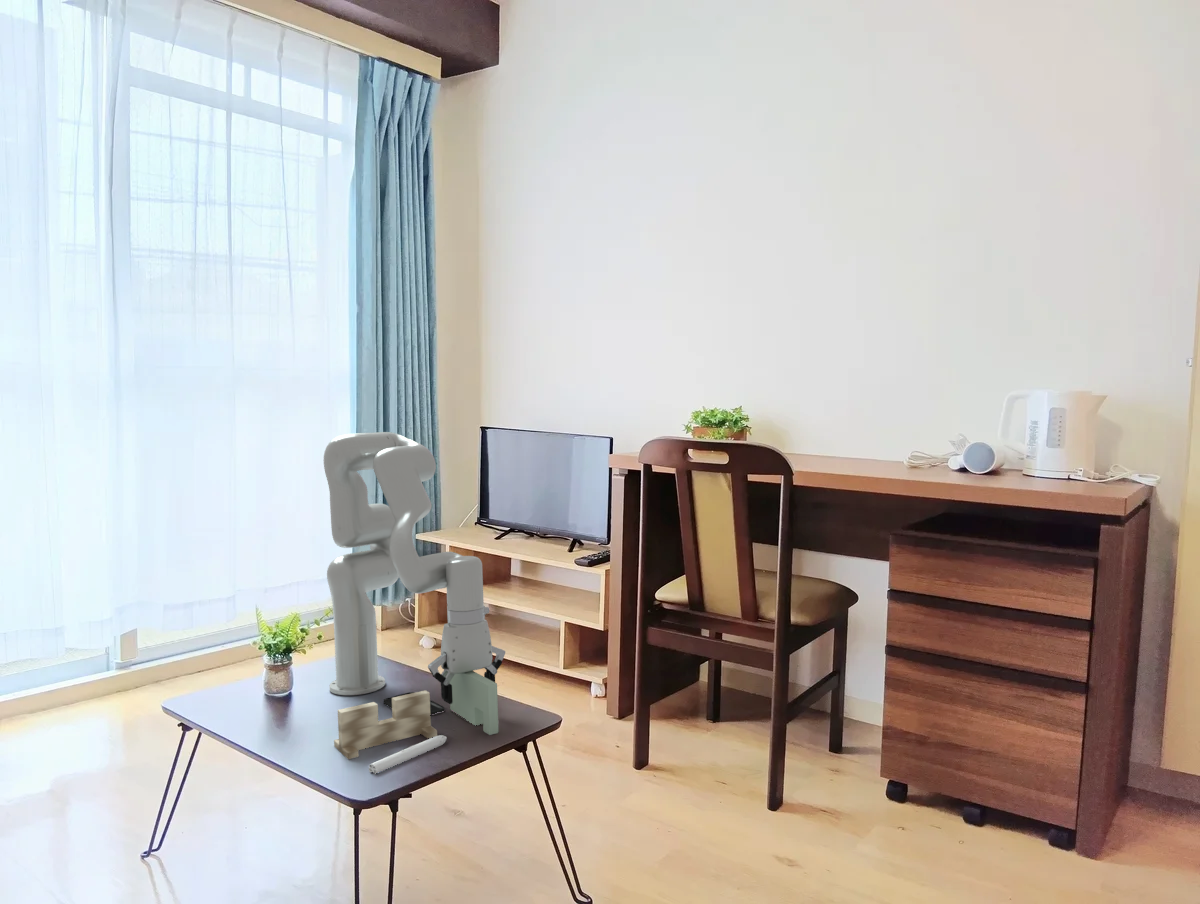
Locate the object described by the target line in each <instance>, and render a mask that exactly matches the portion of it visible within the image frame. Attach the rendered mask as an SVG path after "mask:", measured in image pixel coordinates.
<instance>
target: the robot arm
mask: <svg viewBox="0 0 1200 904" xmlns="http://www.w3.org/2000/svg"><path fill="white" fill-rule="evenodd" d="M436 467H437V465H436V460H435V456H434V455H433V453H432V451H430V449H429V448H428V447H426V446H425V445H423V444H421V443H419V442H418V441H415V440H413V439H410V438H408V437H405V436H403V435H401V434H399V433H396V432H392V431H391V432H389V431H382V432H378V431H376V432H359V433H358V432H357V433H347V434H342V435H338V436H336V437H334V438H333V439H332V440H330V441H329V442H328V444H327V445H326V447H325V450H324V454H323V469H324V474H325V478H326V480H327V486H328V491H329V506H330V509H329V511H330V525H331V527H330V528H331V535H332V538H333V542H334V543H335V544H336V546H338V547H339V548H343V549H350V548H351V549H352V548H358V547H365V546H369V548H370V549H369V550H364V551H363V550H362V551H357V552H351V553H346V554H343V555H340V556H338V557H336V558H334V559H333V560H332V561H331V562H330V563H329V565H328V567H327V570H326V580H327V584H328V588H329V591H330V597H331V604H332V615H333V634H334V635H333V636H334V637H333V638H334V657H335V659H334V661H335V679H334V680H333V681H331V683H330V684H329V692H331V693H332V694H334V695H339V696H359V695H365V694H366V695H367V694H371V693H373V692H377V691H378V690H381V689H382V688H383V687H384V686H385V685H386V678H385V677H383V676H382V675H379V669H378V668H379V667H378V661H379V659H378V642H377V637H378V636H377V615H376V609H375V606H374V604H373V602H372V601H371V600H370V598H369V597H368V594H367V593H370V592H372V591H375V590H379V589H384V588H389V587H391V586H393V585H394V584H395V583H396V582H397V581H398V579H400V582H401V583H402V584H403V586H404V587H405V589H406V590H408V592H410V593H413V594H419V595H420V594H424V593H429V592H432V591H436V590H437V591H438V590H443V589H446V609H447V610H446V611H447V623H444V624H443V629H442V635H441V644H440V646H441V647H440V655H439V656H438V657H436V659H433V660H432V661H431V662H430V663H429V664H428V665H427V668H428V670H429V672H430V673H431V675H432V677H433V678H434V679H435V680H437V681H438V682H439V683H440V694H441V699H442V701H443V702H445V703H446V704H448V705H450V704H452V702H453V700H452V685H451V684H450V681H451V680H452V678H453V676H454V675H455V674H460V673H464V672H469V671H474V672H475V671H479V670H481V669H484V670H486V671H484V673H483V677H485V678H487V679H489V680H491V681H493V682H495V683H496V675H497V674H498V670H499V668H500V667H501V666H502V664H503V660H504V658H505V655H506V650H504V649H502V648H499V647H496V646H493V645H492V638H491V632H490V628H489V624H488V620H487V619H486V615H487V614H489V613H490V607H489V606H485V604H484V581H483V580H484V577H483V576H484V575H483V573H484V572H483V562H482V560H481V559H480V558H479V557H478V556H475V555H474V556H473V555H462V554H460V553H457V552H454V551H443V552H438V553H432V554H426V555H422V556H419V554H418V551H417V550H416V547H415V545H414V541H413V529H414V526H415V524H417V523H418V522H419V521H421V520H422V519H424V518H425V517H426V516H427V515H428V514H429V513H430V512H431V510H432V505H433V504H432V501H431V499H430V498H429V495H428V493H427V491H426V489H425V487H424V484H423V482H427V481H429V480H431V479H432V478H433V477H434V475H435V474H436V470H437V469H436ZM366 470H367V471H368V470H373V472H374V475H375V477H376V479H377V481H378V483H379V486H380V489H381V490H382V494H383V496H384V498H385V500H386V502H387V504H385V503H370V504H369V498H368V497H369V496H368V493H369V491H368V487H367V485H366V482H365V480H364V479H363V477H362V476H361V474H360V473H359V471H366ZM493 654H495V658H494V659H493ZM439 667H441V668H442V672H441V673H440V671H439V670H438V669H439Z"/></svg>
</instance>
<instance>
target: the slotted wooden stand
mask: <svg viewBox="0 0 1200 904" xmlns="http://www.w3.org/2000/svg"><path fill="white" fill-rule="evenodd" d="M430 695H431V693H430V692H429V691H427V690H421V691H415V693H411V694H407V695H402V696H398V697H393V696H392V697H393V698H392V708H391V711H392V712H391V715H392V716H391V717H390V718H386V719H382V720H379V704H378V703H377V702H375V701H372V702H367V703H362V704H359V705H353V706H349V707H345V708H339V709H337V724H338V725H337V726H338V727H337V728H338V730H337V731H338V738H337V739H334V740H333V746H334V748H336V749H337V750H338V751H339V752H340V753H341V754H342V756H344V757H345V758H346V759H347V760H351V759H355V758H359V751H362V750H365V748H366V749H369V747H370V748H372V747H373V746H374V747H377V746H380V745H385V744H388V742H389V743H393V742H397V741H401V740H404V739H408V738H412V737H416V736H420V734H421V735H422V736H424V737H425V738H427V739H428V738H429V739H430V738H432V737H435V736H438V729H436V728H434V727H433V726H432V719H431V717H432V716H430V715H431V714H430V700H431V696H430ZM396 740H397V741H396ZM392 741H393V742H392ZM384 743H385V744H384Z"/></svg>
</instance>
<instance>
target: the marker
mask: <svg viewBox="0 0 1200 904" xmlns="http://www.w3.org/2000/svg"><path fill="white" fill-rule="evenodd" d="M447 738H448V737H447V736H446V735H443V734H441V735H440V734H439V735H438V734H437V736H435V737H433V738H429V739H428V738H427V739H426V740H423V741H422V742H421V741H420V742H419V743H416V744H413V745H410V746H409V747H407V748H405V749H404V748H403V749H401V750H400V751H398V752H395V753H393V754H390V755H388V756H385V757H384V758H381V759H379V760H377V761H376V760H375V762H372V763H370V764H369V765H368V771H369V773H370V772H373V774H374V773H375V774H374V775H377V774H376V773H378V772H380V771H382V772H384V771H386V770H385V769H387V770H389V769H391V768H393V766H394V767H396V766H398V765H401V764H402V762H403V763H405V762H407V761H409V760H412V759H414V758H416V757H418V755H419V756H420V755H421V756H422V755H423V754H425V753H428V752H429V751H433V750H434V748H435V749H437V748H439V747H441V746H443V745H444V744H445V743H446V741H447ZM427 751H428V752H427ZM411 758H412V759H411ZM404 761H405V762H404ZM397 764H398V765H397ZM395 765H396V766H395ZM390 767H391V768H390ZM388 768H389V769H388ZM383 770H384V771H383ZM380 773H381V772H380ZM378 774H379V773H378Z"/></svg>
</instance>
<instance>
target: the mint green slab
mask: <svg viewBox="0 0 1200 904" xmlns="http://www.w3.org/2000/svg"><path fill="white" fill-rule="evenodd" d="M450 684H451V685H452V700H453V702H452V704H449V707H450V708H449V709H451V710H453V711H454V712H456V713H457V714H459V715H460V716H462V717H463V718H465V719H466V720H465V719H464V720H465V721H467V722H468V721H469V722H468V723H470V724H471V723H472V725H473V726H474V725H475V726H474V727H477V726H480V724H481V725H482V728H483V729H482V730H483V731H482V732H484V733H485V734H487V735H489V736H492V735H495V734H499V731H500V730H499V705H498V703H499V701H498V699H499V697H498V683H496V681H495V682H493V681H491V680H489V679H487V678H485V677H484V675H481V674H480V673H477V672H476V671H475V670H474V671H469V672H464V673H460V674H455V675H454V676H453V678H452V680H451V681H450ZM451 710H450V711H451ZM454 712H453V713H454ZM457 714H456V715H457ZM459 715H458V716H459ZM460 716H459V717H460ZM462 717H461V718H462ZM463 718H462V719H463ZM476 725H477V726H476Z"/></svg>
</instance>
